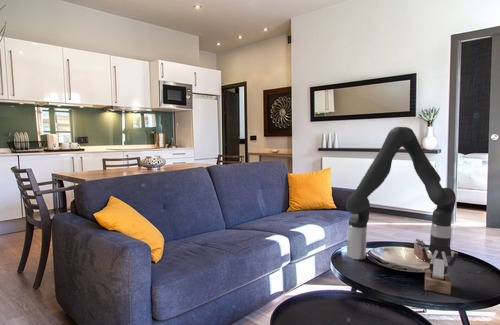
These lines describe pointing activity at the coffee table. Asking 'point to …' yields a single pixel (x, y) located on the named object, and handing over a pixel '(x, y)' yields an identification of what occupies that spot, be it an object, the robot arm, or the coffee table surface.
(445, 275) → the slot holder
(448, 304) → the coffee table surface
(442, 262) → the square peg
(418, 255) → the terracotta planter
